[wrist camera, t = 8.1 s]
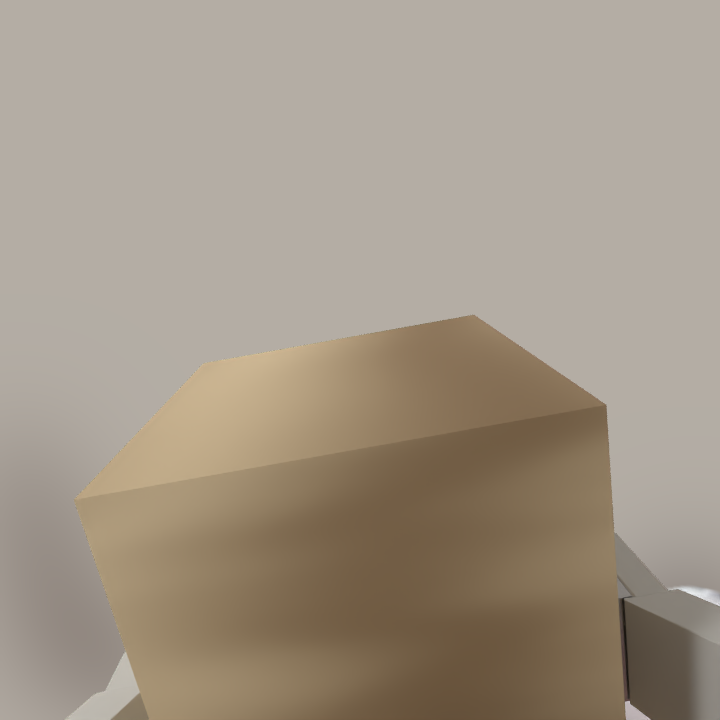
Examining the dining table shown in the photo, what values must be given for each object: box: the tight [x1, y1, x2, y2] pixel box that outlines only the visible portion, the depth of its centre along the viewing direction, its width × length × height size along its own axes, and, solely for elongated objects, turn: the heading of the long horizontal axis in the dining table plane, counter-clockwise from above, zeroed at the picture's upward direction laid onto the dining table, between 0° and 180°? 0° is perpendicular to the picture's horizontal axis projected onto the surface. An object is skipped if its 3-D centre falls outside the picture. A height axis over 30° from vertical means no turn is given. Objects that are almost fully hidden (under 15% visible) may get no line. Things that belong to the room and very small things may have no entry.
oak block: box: [74, 315, 626, 720], centre depth 9 cm, size 5×5×10 cm
